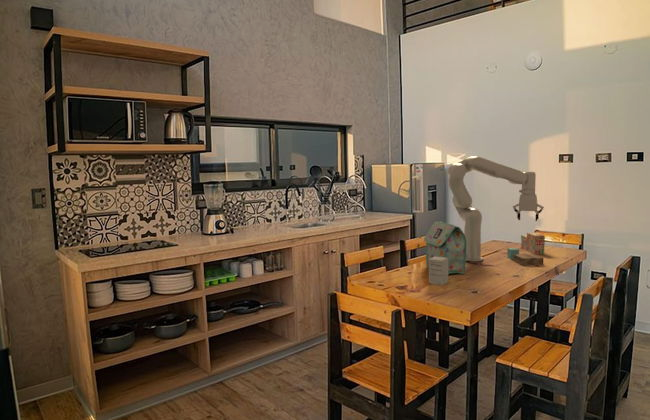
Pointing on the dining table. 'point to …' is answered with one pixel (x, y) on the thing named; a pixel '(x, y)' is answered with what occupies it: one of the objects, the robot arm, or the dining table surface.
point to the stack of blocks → (533, 243)
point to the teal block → (512, 252)
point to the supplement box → (438, 270)
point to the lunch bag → (447, 246)
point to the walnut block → (528, 259)
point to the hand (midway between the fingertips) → (527, 220)
